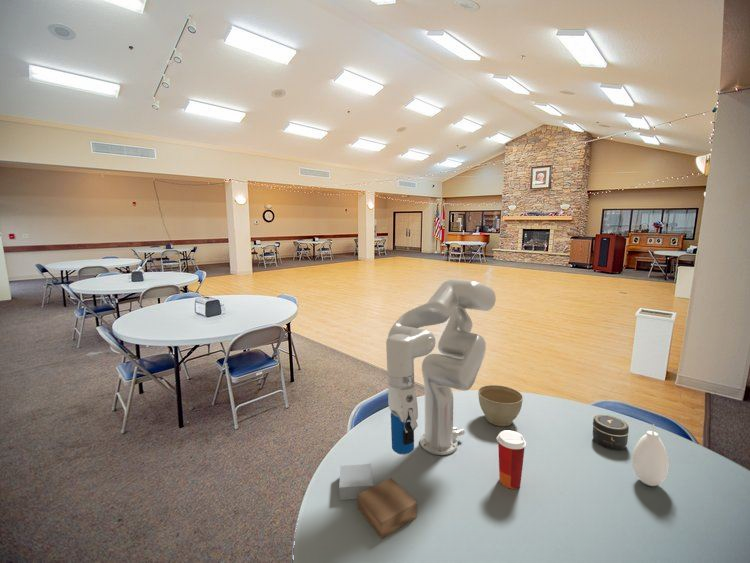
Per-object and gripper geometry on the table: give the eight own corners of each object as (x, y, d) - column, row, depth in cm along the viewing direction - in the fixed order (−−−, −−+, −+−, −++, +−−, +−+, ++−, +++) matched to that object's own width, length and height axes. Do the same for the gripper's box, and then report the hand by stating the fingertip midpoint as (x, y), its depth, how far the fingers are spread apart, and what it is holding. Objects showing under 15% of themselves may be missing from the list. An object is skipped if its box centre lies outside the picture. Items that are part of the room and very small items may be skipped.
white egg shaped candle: (657, 497, 92) (663, 434, 89) (625, 479, 99) (630, 421, 96) (671, 487, 95) (677, 426, 93) (639, 470, 102) (644, 414, 100)
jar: (595, 447, 114) (596, 426, 113) (589, 432, 123) (590, 412, 122) (631, 454, 110) (633, 432, 109) (622, 437, 119) (624, 417, 118)
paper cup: (523, 476, 101) (525, 431, 99) (525, 494, 93) (527, 446, 92) (495, 470, 103) (496, 427, 101) (495, 488, 96) (496, 441, 94)
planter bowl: (529, 431, 124) (530, 403, 122) (484, 432, 124) (485, 403, 122) (512, 409, 139) (513, 384, 138) (472, 410, 140) (473, 384, 138)
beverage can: (413, 457, 96) (412, 418, 94) (390, 455, 97) (388, 416, 95) (415, 443, 102) (414, 406, 100) (393, 441, 103) (392, 404, 101)
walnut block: (391, 490, 96) (391, 477, 95) (417, 516, 87) (417, 502, 86) (357, 508, 90) (357, 494, 89) (381, 538, 80) (381, 522, 80)
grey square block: (370, 476, 102) (370, 463, 102) (372, 498, 93) (372, 485, 93) (340, 478, 102) (340, 465, 101) (339, 501, 93) (339, 487, 92)
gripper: (428, 387, 90) (430, 449, 93) (398, 365, 105) (400, 418, 108) (403, 394, 87) (405, 458, 90) (376, 369, 103) (378, 424, 105)
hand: (402, 435), depth 99 cm, fingers closed on beverage can, 6 cm apart
